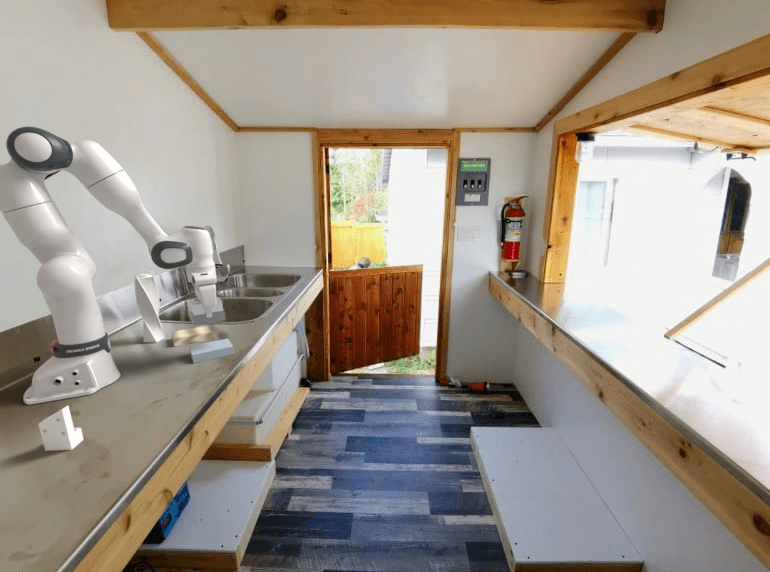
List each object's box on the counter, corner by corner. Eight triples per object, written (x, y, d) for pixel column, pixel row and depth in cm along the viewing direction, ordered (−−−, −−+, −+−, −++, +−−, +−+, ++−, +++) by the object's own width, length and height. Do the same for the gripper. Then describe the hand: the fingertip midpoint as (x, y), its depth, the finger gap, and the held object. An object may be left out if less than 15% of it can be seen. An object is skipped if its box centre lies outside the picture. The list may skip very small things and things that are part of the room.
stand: (193, 363, 128) (192, 355, 128) (190, 354, 136) (189, 346, 135) (234, 354, 135) (233, 346, 134) (228, 346, 142) (228, 338, 142)
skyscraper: (172, 336, 153) (161, 268, 147) (158, 344, 146) (146, 272, 139) (152, 336, 154) (140, 267, 147) (138, 344, 146) (125, 272, 140)
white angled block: (89, 439, 85) (61, 409, 83) (54, 460, 86) (26, 431, 84) (100, 429, 89) (74, 400, 87) (67, 449, 90) (40, 421, 88)
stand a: (174, 346, 142) (173, 339, 142) (172, 339, 150) (171, 332, 149) (212, 339, 149) (211, 332, 149) (208, 332, 157) (207, 325, 156)
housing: (193, 325, 127) (190, 305, 126) (191, 321, 132) (188, 301, 131) (225, 319, 133) (223, 300, 131) (222, 315, 138) (219, 296, 136)
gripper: (187, 271, 135) (193, 308, 139) (195, 281, 119) (202, 323, 122) (206, 268, 139) (211, 305, 142) (217, 278, 122) (223, 320, 125)
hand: (207, 314), depth 132 cm, fingers closed on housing, 6 cm apart
